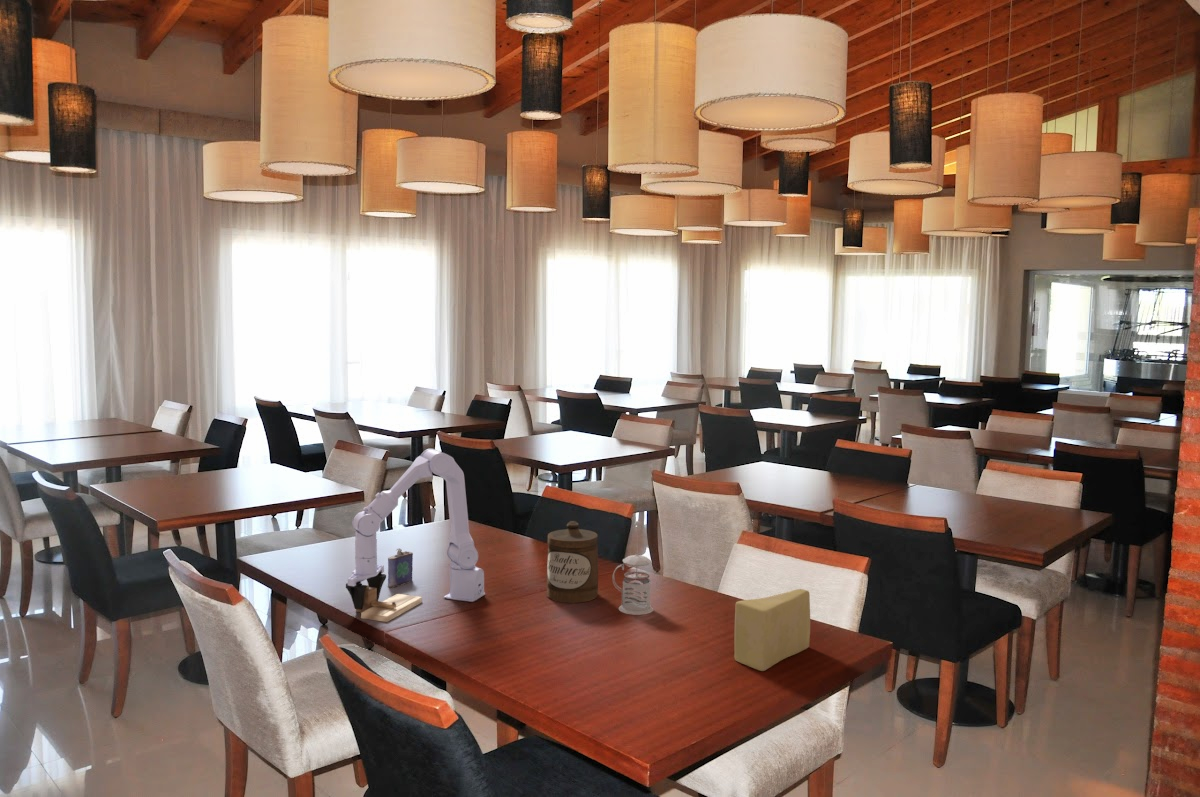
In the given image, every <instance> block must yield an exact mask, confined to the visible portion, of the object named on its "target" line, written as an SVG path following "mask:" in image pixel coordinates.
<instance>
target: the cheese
mask: <svg viewBox="0 0 1200 797" xmlns="http://www.w3.org/2000/svg"><path fill="white" fill-rule="evenodd" d="M734 608H735V610H734V611H735V612H734V640H733V641H734V655H733V656H734V661H736V662H738V663H739V664H743V665H745V666H747V667H749V668H752V669H754V670H757V671H760V672H766V671H767V670H768V669H770V668H772V667H773V666H775V665H776V664H777V663H779V662H782V661H783V660H785V659H787V658H788V657H791V656H794V655H796V654H799V653H801V652H803V651H804V650H805V651H806V650H807V649H808V648H809V647H810V639H811V638H810V636H811V600H810V591H809V590H807V589H802V588H798V589H792V590H790V591H787V592H783V593H778V594H776V595H775V594H774V595H771V596H766V597H763V598H761V597H760V598H753V599H752V598H751V599H745V600H738V601H736V602H735V606H734Z"/></svg>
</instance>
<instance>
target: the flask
mask: <svg viewBox="0 0 1200 797" xmlns="http://www.w3.org/2000/svg"><path fill="white" fill-rule="evenodd" d="M395 551H396V554H395V555H392V556H391V555H390V556H389V557H387V566H388V567H387V573H388V574H387V587H388V588H391V589H392V588H398V587H400V586H403V585H405V584H406V585H407V584H409V583H412V582H413V555H414V553H413V552H411V551H407V550H406V551H402V549H401V548H396V550H395Z"/></svg>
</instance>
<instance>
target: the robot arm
mask: <svg viewBox="0 0 1200 797" xmlns="http://www.w3.org/2000/svg"><path fill="white" fill-rule="evenodd" d="M432 474H434V475H436V476H438V477H440V478H442V479H443V480H444V481H445V483H446V484H445V485H446V497H447V505H448V506H447V507H448V514H449V515H448V516H449V517H448V518H449V528H450V534H449V538H448V546H447V548H446V555H447V557H448V559H449V560H450V563H449V593H448V594H446V595H444V596H443V598H444V599H448V600H455V601H464V602H469V603H470V602H471V603H473V602H475V601H478V600H479V599H480V598H481V597H483V596H485V595H486V592H485V571H484V570H483V569H484V568H483V569H482V568H480V567H478V566H476V564H477V562H478V561H479V552H478V550H477V549H476V547H475V542H474V539H473V538H472V536H471V534H470V526H469V513H468V504H467V494H466V482H465V481H466V480H465V474H464V471H463V470H462V468H461V467H460V466H459V465H458V463H457V462H456V461H455V459H454V457H453V456H451V455H450V454H447V453H445V452H441V451H439V450H437V449H435V448H427V449H425V450H423V452H422V453H421V454H420V455H419V456H417V457H415V460H414V461H413V462H412V463H411V465H410V466H409V467H408V468H407V469H406V471H405V472H404V473H403V474H402V475H401V476H400V477H399V478H398V480H397V481H396V482H395V483H394V484H393V486H391V487H390V489H388V490H382V491H381V492H377V493H376V494H375V495H374V496H375V498H374V499H373V500H372V501H371V502H370V503H369V504H368V505H367V506H364V507H363V508H362V510H363V511H360V512H357V513H356V515H355V516H354V518H353V520H352V521H351V525H352V527H353V529H354V530H355V532H354V533H355V539H354V543H355V544H354V546H355V547H354V556H355V558H354V559H355V562H354V563H355V564H354V565H355V567H354V570H352V571H351V573H352V575H351V576H350V577H348V578H347V583H345V588H346V590H347V591H348V593H349V595H350V598H351V600H352V604H353V608H354V610H356V609H359V610H361V609H363V603H364V594H365V590H366V588H367V585H368V586H369V587H374V588H377V601H379V598H380V594H381V590H382V587H383V585H384V582H385V581H386V579H387V574H384V573H385V565H381V564H378V547H377V546H378V545H377V543H378V539H377V532H378V531H379V529H380V527H381V523H382V522H383V521H384V520H385V519H386V518H387V517H388V516H389V515H390V514H391V513H393V511H394V510H395V509H396V508H397V506H399V498H400V497H401V496H403V495H404V494H405V493H406V492H407V491H408V490H409V489H410V488H411V487H412V486H413V485H414V484H415V483H417V481H419V480H420V479H425V478H431V477H433V475H432ZM364 581H366V582H367V584H363V583H362V582H364Z"/></svg>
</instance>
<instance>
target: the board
mask: <svg viewBox="0 0 1200 797" xmlns="http://www.w3.org/2000/svg"><path fill="white" fill-rule="evenodd" d="M382 602H387V603H392V602H395V604H396V608H394V609H393V608H385V607H378V606H373V607H371V608H369V609H367V610H365V611H363V612H362V613H361V612H360V614H361V615H360V619H364V620H371V621H379V622H384V623H386V622H387V623H388V622H390V621H391V620H393V619H395V618H397V617H399V616H400V615H402V614H404V613H406V612H407V611H409V610H411V609H413V608H414V607H416V606H418V605H420V604H421V603H423V597H422V596H416V595H408V594H402V593H396V594H395V595H392V596H390V597H389V598H386V599H385V600H383V601H382Z"/></svg>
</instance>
